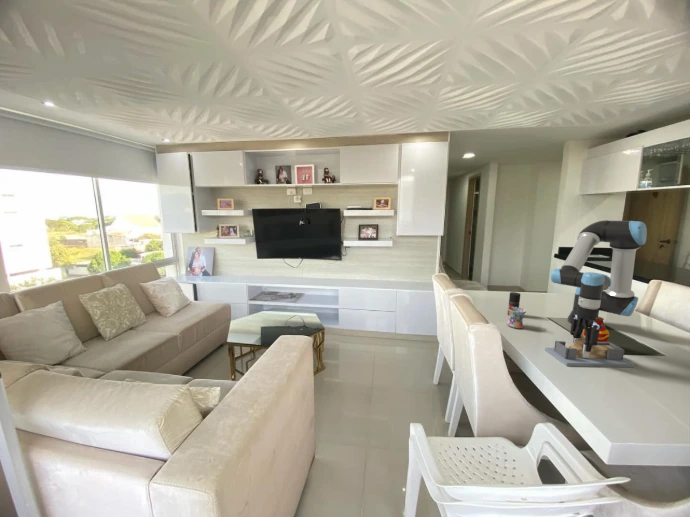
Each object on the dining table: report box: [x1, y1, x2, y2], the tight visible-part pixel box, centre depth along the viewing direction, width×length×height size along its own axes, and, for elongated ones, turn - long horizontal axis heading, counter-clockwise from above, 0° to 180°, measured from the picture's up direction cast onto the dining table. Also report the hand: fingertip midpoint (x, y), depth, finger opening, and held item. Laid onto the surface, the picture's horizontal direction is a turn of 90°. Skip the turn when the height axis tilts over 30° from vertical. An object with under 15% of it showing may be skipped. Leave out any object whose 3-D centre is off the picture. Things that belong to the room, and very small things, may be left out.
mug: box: [506, 307, 527, 329], centre depth 165 cm, size 12×9×11 cm
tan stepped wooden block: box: [568, 338, 614, 358], centre depth 129 cm, size 18×4×7 cm, turn 89°
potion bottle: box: [582, 316, 610, 342], centre depth 141 cm, size 10×10×15 cm
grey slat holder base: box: [544, 340, 634, 368], centre depth 129 cm, size 29×14×6 cm, turn 89°
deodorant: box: [507, 291, 521, 316], centre depth 182 cm, size 6×6×15 cm
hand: (580, 354), depth 129 cm, fingers closed on tan stepped wooden block, 5 cm apart
